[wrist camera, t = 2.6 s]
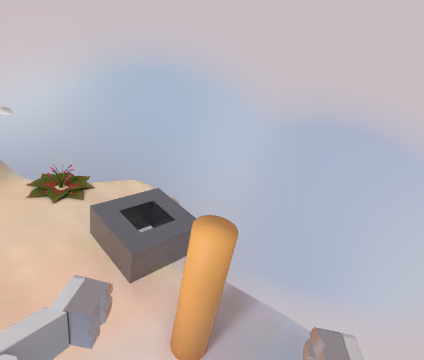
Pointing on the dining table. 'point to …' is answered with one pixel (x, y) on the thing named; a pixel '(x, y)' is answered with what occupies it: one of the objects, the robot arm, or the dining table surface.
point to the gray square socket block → (146, 241)
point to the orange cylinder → (202, 285)
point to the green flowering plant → (59, 179)
